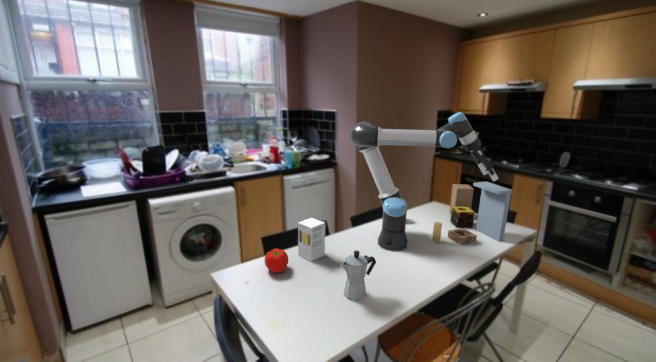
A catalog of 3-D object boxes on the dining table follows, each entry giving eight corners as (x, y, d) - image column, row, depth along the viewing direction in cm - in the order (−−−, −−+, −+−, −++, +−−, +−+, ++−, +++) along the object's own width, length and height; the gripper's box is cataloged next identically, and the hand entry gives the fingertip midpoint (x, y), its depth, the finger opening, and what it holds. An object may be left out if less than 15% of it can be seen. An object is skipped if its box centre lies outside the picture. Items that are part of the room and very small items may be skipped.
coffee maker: (345, 304, 116) (346, 260, 111) (335, 291, 123) (336, 249, 119) (380, 295, 122) (382, 252, 117) (368, 283, 129) (370, 242, 125)
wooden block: (464, 213, 208) (468, 184, 203) (469, 219, 199) (473, 188, 194) (449, 213, 209) (452, 183, 204) (453, 218, 200) (457, 188, 195)
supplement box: (297, 254, 152) (297, 222, 147) (311, 248, 158) (311, 216, 154) (311, 262, 145) (311, 227, 141) (325, 255, 152) (325, 222, 148)
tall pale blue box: (490, 243, 166) (499, 191, 159) (466, 230, 181) (473, 182, 174) (503, 241, 169) (512, 189, 162) (479, 228, 184) (486, 181, 177)
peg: (435, 243, 166) (437, 225, 163) (430, 240, 169) (432, 222, 167) (441, 242, 167) (443, 224, 164) (436, 239, 171) (438, 221, 168)
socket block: (460, 245, 164) (461, 238, 163) (447, 237, 173) (448, 230, 172) (475, 242, 167) (476, 235, 166) (462, 234, 176) (463, 228, 175)
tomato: (270, 279, 131) (270, 260, 129) (261, 267, 140) (260, 249, 138) (293, 272, 137) (293, 253, 135) (283, 261, 146) (282, 243, 144)
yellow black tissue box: (473, 228, 185) (475, 212, 183) (456, 228, 185) (458, 212, 183) (466, 221, 195) (468, 206, 193) (449, 221, 195) (451, 206, 193)
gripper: (485, 140, 145) (508, 178, 147) (469, 134, 169) (489, 167, 171) (470, 148, 147) (492, 186, 149) (456, 142, 171) (476, 175, 173)
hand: (490, 176), depth 160 cm, fingers open, 13 cm apart
